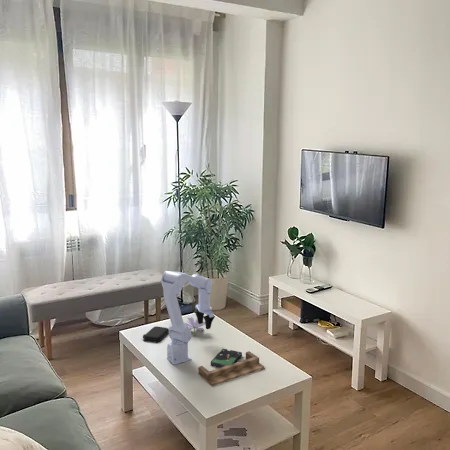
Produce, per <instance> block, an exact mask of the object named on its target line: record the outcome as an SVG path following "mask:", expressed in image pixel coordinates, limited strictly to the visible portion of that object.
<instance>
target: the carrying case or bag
mask: <svg viewBox="0 0 450 450" xmlns="http://www.w3.org/2000/svg"><path fill="white" fill-rule="evenodd" d="M168 328H169V327H164V326H156V325H155V326H154V327H152V328H151V329H150V330H149V331H147V332H146V333H144V334H143V335H142V339H143V340H144V341H147V342H152V343H153V342H154V343H158V342H161V341H162V339H164V338H165V337H166V336H167V334H169V329H168Z"/></svg>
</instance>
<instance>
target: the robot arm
mask: <svg viewBox="0 0 450 450" xmlns="http://www.w3.org/2000/svg"><path fill="white" fill-rule="evenodd" d="M160 282H161V286H162V293H163V294H162V295H163V299H164V302H165V306H166V309H167V312H168V317H169V319H170V320H169V321H170V323H171V324H170V325H168V327H167V328H168V329H169V332H168V337H169V338H170V339H171V342H170V343H168V344H167V346H166V351H167V354H166V359H167V360H168V361H169V362H171V364H173V365H178V364H181V363H184V362H188V361H191V360H192V357H190V356H189V346H188V345H189V342H190V341H191V340H192V331H191V330H189V326H187V325H186V324H185V323H186V322H184V320H183V316H182V311H181V308H180V304H179V300H178V296H177V295H179V294H180V293H181V291H182V290H183V288H184V286H185V284H187V282H188V283H189V285H190V286H192V287H195V288H197V289H198V303H197V304H195V310H194V311H193V312H194V314H195V316H196V319H198V323H199V324H202V323H203V322H205V330H211V326H212V323H213V321H214V319H215V318H216V317H215V315H214V312H213V311H212V309H213V307H211V292H212V286H213V281H212V279H211V278H208V277H205V276H204V275H200V273H195V274H192V275H190V274H189V273H185V272H181V271H174V270H171V271H170V270H165V271H164V272H163V274H162V276H161V278H160Z"/></svg>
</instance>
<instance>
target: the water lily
mask: <svg viewBox="0 0 450 450" xmlns="http://www.w3.org/2000/svg"><path fill="white" fill-rule="evenodd" d="M184 323H185V324H186V325H187V326H188V327H189V330H193V336H194V337H195V336H196V330H197V331H204V328H203V326H206V324H205V321H203V323H202V324H199V323H198V319H197V318H195V319H194V317H193V316H190V317H187V320H186V322H184Z"/></svg>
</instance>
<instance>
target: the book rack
mask: <svg viewBox="0 0 450 450" xmlns="http://www.w3.org/2000/svg"><path fill="white" fill-rule="evenodd" d="M260 370H265V365H263V364H262V363H260V357H258V355H255V354H254V353H253V352H251V351H250V350H249V351H246V352H245V359H243V360H239V361H238V362H237V363H234V364H231V365H228V366H224V367H221V368H218V367H217V368H215V369H212V370H208V369H207V368H206V367H204V366H203V365H200V366H198V367H197V372H198V373H197V374H198V375H199V376H200V377H201V378H202V379H204V380H205V381H206V382H207V383H208V384H209V385H210V386H211V387H214V386H216V385H219V384H223V383H227V382H229V381H232V380H234V379H235V380H236V379H238V378H241V377H243V376H244V377H245V376H247V375H249V374H252V373H255V372H258V371H260Z"/></svg>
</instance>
